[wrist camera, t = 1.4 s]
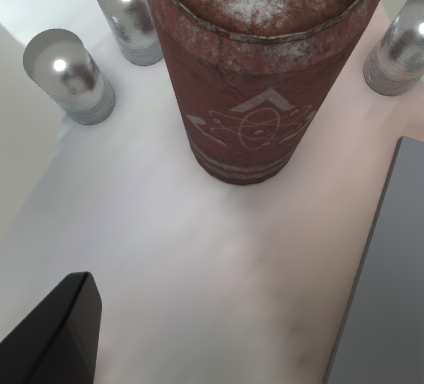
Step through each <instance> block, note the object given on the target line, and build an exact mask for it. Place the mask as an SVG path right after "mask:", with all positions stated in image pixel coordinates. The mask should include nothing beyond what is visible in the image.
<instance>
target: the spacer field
mask: <svg viewBox="0 0 424 384" xmlns="http://www.w3.org/2000/svg"><path fill="white" fill-rule="evenodd" d="M97 1H98V3H99V5H100V7H101V9H102V11H103V14H104V16H105V18H106V20H107V22H108V24H109V26H110V28H111V30H112V32H113V34H114V36H115V38H116V40H117V42H118V44H119V47H120V49H121V51H122V53H123V55H124V56H125V58H126V59H127V60H128V61H130V62H131V63H133V64H136V65H140V66H147V65H152V64H154V63H156V62H158V61H159V60H161V59H162V58H163V57H164V55H163V52H162V48H161V45H160V42H159V38H158V35H157V32H156V28H155V25H154V22H153V18H152V15H151V11H150V8H149V5H148V1H147V0H97ZM23 65H24V69H25V71H26V73H27V74H28V76H29V77H30V78H31V79H32V80H33V81H34V82H35V83H36V84H37V85H39V87H40V88H41V89H42V90H44V91H45V92H46V93H47V94H48V95H49V96H50V97H51V98H52V99H53V100H54V101H55V102H56V103H57V104H58V105H59V106H60V107H61V108H62V109H63V110H64V111H65V112H66V113H67V114H68V115H69V116H70V117H71V118H72V119H73V120H75V121H76V122H78V123H81V124H84V125H93V124H97V123H100V122H102V121H103V120H105V119H106V118H107V117H108V116H109V115H110V114H111V112H112V110H113V108H114V105H115V95H114V92H113V90H112V88H111V87H110V85H109V83H108V82H107V80H106V79H105V77H104V76H103V74H102V72H101V71H100V69H99V68H98V66H97V65H96V63H95V62H94V60H93V58H92V57H91V55H90V54H89V52H88V51H87V49H86V48H85V46H84V44H83V43H82V41H81V40H80V39H79V37H78V36H77V35H75V34H74V33H72V32H70V31H68V30H65V29H49V30H46V31H43V32H41V33H39V34H38V35H36V36H35V37H34V38H33V39H32V40H31V41H30V42H29V44H28V45H27V47H26V49H25V52H24V56H23ZM423 74H424V0H408V1H407V2H406V3H405V5H404V6H403V8H402V9H401V11H400V12H399V14H398V15H397V17H396V18H395V19H394V21H393V22H392V24H391V25H390V27H389V28H388V30H387V31H386V33H385V34H384V36H383V37H382V39H381V40H380V41H379V43H378V44H377V46H376V47H375V49H374V50H373V52H372V53H371V55H370V56H369V58H368V59H367V61H366V63H365V65H364V77H365V80H366V82H367V84H368V85H369V86H370V87H371V88H372V89H373V90H374V91H376V92H378V93H380V94H383V95H387V96H395V95H399V94H402V93H404V92H406V91H407V90H408V89H409V88H410V87H411V86H412V85H413V84H414V83H415V82H416V81H417V80H418V79H419V78H420V77H421V76H422V75H423Z"/></svg>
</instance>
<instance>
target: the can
mask: <svg viewBox="0 0 424 384" xmlns="http://www.w3.org/2000/svg"><path fill="white" fill-rule="evenodd" d="M147 1H148V5H149V8H150V11H151V15H152V18H153V22H154V25H155V28H156V32H157V35H158V38H159V42H160V45H161V48H162V52H163V55H164V59H165V62H166V65H167V69H168V72H169V75H170V79H171V82H172V86H173V89H174V92H175V96H176V99H177V102H178V106H179V109H180V112H181V116H182V119H183V123H184V126H185V129H186V133H187V136H188V139H189V143H190V146H191V149H192V151H193V153H194V155H195V157H196V159H197V161H198V163H199V164H200V165H201V166H202V167H203V168H204V169H205V170H206V171H207V172H208V173H209V174H210V175H212V176H214V177H216V178H218V179H220V180H222V181H224V182H226V183H233V184H239V185H247V184H253V183H260V182H262V181H264V180H266V179H268V178H270V177H272V176H274V175H276V174H277V173H278V172H279V171H280V170H281V169H282V168H283V167H284V166H285V165H286V164H287V163H288V161H289V159H290V157H291V156H292V154H293V152H294V151H295V149H296V147H297V145H298V144H299V142H300V140H301V139H302V137H303V135H304V133H305V132H306V130H307V128H308V127H309V125H310V123H311V121H312V120H313V118H314V116H315V115H316V113H317V111H318V109H319V108H320V106H321V104H322V103H323V101H324V99H325V97H326V96H327V94H328V92H329V91H330V89H331V87H332V85H333V84H334V82H335V80H336V79H337V77H338V75H339V73H340V72H341V70H342V68H343V67H344V65H345V63H346V62H347V60H348V58H349V56H350V55H351V53H352V51H353V50H354V48H355V46H356V44H357V43H358V41H359V39H360V38H361V36H362V34H363V32H364V31H365V29H366V27H367V26H368V24H369V22H370V20H371V18H372V15H373V13H374V11H375V9H376V7H377V5H378V3H379V1H380V0H147Z"/></svg>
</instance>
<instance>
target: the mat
mask: <svg viewBox="0 0 424 384" xmlns="http://www.w3.org/2000/svg"><path fill="white" fill-rule="evenodd" d="M323 383H324V384H424V142H421V141H418V140H415V139H412V138H409V137H406V136H402V137H401V138H400V139H399V140H398V143H397V147H396V150H395V153H394V156H393V160H392V163H391V166H390V169H389V172H388V176H387V179H386V182H385V185H384V189H383V192H382V195H381V198H380V202H379V205H378V208H377V211H376V214H375V218H374V221H373V224H372V227H371V231H370V234H369V237H368V240H367V244H366V247H365V250H364V253H363V256H362V260H361V263H360V266H359V269H358V273H357V276H356V279H355V282H354V285H353V289H352V292H351V295H350V298H349V302H348V305H347V308H346V311H345V315H344V318H343V321H342V324H341V327H340V331H339V334H338V337H337V340H336V344H335V347H334V350H333V353H332V357H331V360H330V363H329V366H328V369H327V373H326V376H325V379H324V382H323Z"/></svg>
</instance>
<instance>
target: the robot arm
mask: <svg viewBox="0 0 424 384" xmlns="http://www.w3.org/2000/svg"><path fill="white" fill-rule="evenodd" d="M101 312H102V301H101V297H100V294H99V292H98V289H97V286H96V283H95V281H94V278H93V276H92V274H91V273H90V272H76V273H70V274H68V275H67V276H66V277H65V278H64V279H63V280H62V281H61V282H60V283H59V284H58V285H57V286H56V287H55V288H54V289H53V290H52V291H51V292H50V293H49V294H48V295H47V296H46V297H45V298H44V299H43V300H42V301H41V302H40V303H39V304H38V305H37V306H36V307H35V308H34V309H33V310H32V311H31V312H30V313H29V314H28V315H27V316H26V317H25V318H24V319H23V320H22V321H21V322H20V323H19V324H18V325H17V326H16V327H15V328H14V329H13V330H12V331H11V332H10V333H9V334H8V335H7V336H6V337H5V338H4V339H3V340H2V341H1V342H0V384H93V382H94V375H95V367H96V358H97V349H98V340H99V331H100V321H101Z"/></svg>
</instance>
